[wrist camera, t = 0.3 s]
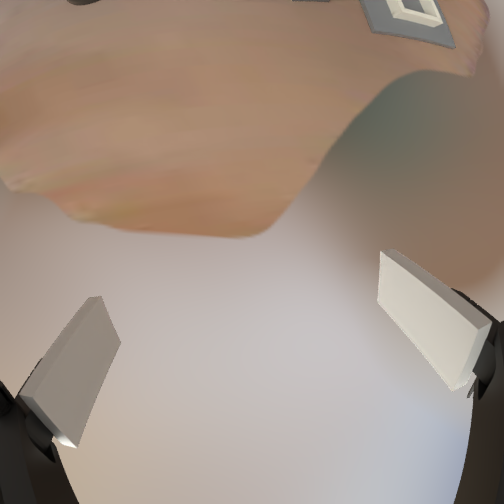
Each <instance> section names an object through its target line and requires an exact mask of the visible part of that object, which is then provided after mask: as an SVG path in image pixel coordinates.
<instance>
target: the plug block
mask: <svg viewBox="0 0 504 504" xmlns="http://www.w3.org/2000/svg"><path fill="white" fill-rule="evenodd" d="M292 1H318V2H329V1H330V0H292Z"/></svg>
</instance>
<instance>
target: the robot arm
mask: <svg viewBox="0 0 504 504" xmlns="http://www.w3.org/2000/svg"><path fill="white" fill-rule="evenodd" d="M67 1H68V2H69V3H71V4H73V5H86V4H90V3H93V2H96V1H99V0H67ZM377 302H378V303H379V304H380V306H381V307H382V308H383V309H384V310H385V311H386V312H387V313H388V315H389V316H390V317H391V318H392V319H393V320H394V321H395V323H396V324H397V325H398V326H399V327H400V328H401V329H402V331H403V332H404V333H405V334H406V335H407V336H408V338H409V339H410V340H411V341H412V342H413V344H414V345H415V346H416V347H417V348H418V349H419V351H420V352H421V353H422V354H423V356H424V357H425V358H426V359H427V360H428V362H429V363H430V364H431V365H432V367H433V368H434V369H435V370H436V371H437V373H438V374H439V375H440V377H441V378H442V379H443V380H444V382H445V383H446V384H447V386H448V387H449V388H450V389H451V391H452V392H453V391H455V390H456V389H458V388H460V387H462V386H463V385H465V384H467V382H468V379H469V378H470V376H471V374H472V372H474V373H475V375H476V376H477V377H476V379H475V381H474V383H473V385H472V387H471V389H470V391H469V393H468V395H467V398H469V397H470V396H471V394H472V392H473V391H474V395H473V409H472V419H471V428H470V435H469V442H468V448H467V454H466V458H465V463H464V468H463V472H462V476H461V480H460V484H459V487H458V491H457V494H456V498H455V501H454V504H504V321H502V322H501V323H500V322H499V321H498V320H496V319H495V318H494V317H493V316H491V315H490V314H489V313H488V312H487V311H485V310H484V309H482V307H480V306H479V305H477V304H476V303H475V302H474V301H473V300H470V298H469V297H467V296H466V295H465V294H463V293H462V292H460V291H457V290H455V289H453V288H449V287H448V286H446V285H445V284H444V283H442V282H441V281H439V280H438V279H437V278H435V277H434V276H433V275H431V274H430V273H429V272H427V271H426V270H424V269H423V268H422V267H420V266H419V265H417V264H416V263H414V262H413V261H411V260H410V259H408V258H407V257H406V256H404V255H403V254H401V253H399V252H398V251H397V250H395V249H389V250H384V251H380V273H379V287H378V300H377ZM120 344H121V341H120V339H119V337H118V335H117V333H116V330H115V328H114V326H113V324H112V321H111V319H110V317H109V314H108V312H107V309H106V307H105V305H104V302H103V299H102V297H101V296H98V297H90V298H88V299H87V300H86V302H85V303H84V304H83V306H82V307H81V308H80V309H79V310H78V312H77V313H76V314H75V315H74V317H73V318H72V319H71V321H70V322H69V323H68V324H67V326H66V327H65V328H64V330H63V331H62V332H61V333H60V335H59V336H58V338H57V339H56V340H55V342H54V343H53V344H52V346H51V347H50V349H49V350H48V351H47V353H46V354H45V356H44V357H43V358H42V359H41V360H40V361H39V362H38V363H37V365H36V366H35V370H33V371H32V372H31V374H30V376H29V377H28V379H27V380H26V381H25V383H24V385H23V386H22V388H21V389H20V391H19V392H18V394H17V396H16V397H15V399H14V398H13V396H12V395H11V394H10V392H9V391H8V390H7V388H6V387H5V385H4V384H3V383H2V382H1V381H0V504H79V502H78V500H77V498H76V496H75V494H74V492H73V490H72V487H71V485H70V483H69V480H68V478H67V475H66V473H65V470H64V468H63V465H62V462H61V460H60V457H59V454H58V451H57V448H56V446H55V444H54V443H53V442H52V441H51V440H52V438H53V435H54V436H55V437H56V438H57V439H58V440H59V441H60V442H61V443H62V444H63V445H67V446H71V447H75V448H77V447H78V444H79V442H80V439H81V436H82V434H83V431H84V428H85V426H86V423H87V420H88V417H89V415H90V412H91V410H92V408H93V405H94V403H95V400H96V398H97V395H98V393H99V391H100V388H101V386H102V384H103V381H104V379H105V377H106V374H107V372H108V370H109V368H110V366H111V363H112V361H113V359H114V357H115V355H116V352H117V350H118V348H119V346H120Z"/></svg>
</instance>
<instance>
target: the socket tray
mask: <svg viewBox="0 0 504 504" xmlns="http://www.w3.org/2000/svg"><path fill="white" fill-rule="evenodd" d="M359 1H360V3H361V6H362V8H363V10H364V13H365V16H366V18H367V21H368V23H369V26H370V29H371V32H372V33H377V34H384V35H391V36H398V37H403V38H409V39H414V40H419V41H423V42H428V43H432V44H436V45H440V46H443V47H447V48H450V49H454V48H456V47H455V44H454V41H453V38H452V35H451V33H450V30H449V27H448V25H447V22H446V20H445V18H444V15H443V13H442V11H441V8H440V6H439V4H438V2H437V0H359Z"/></svg>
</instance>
